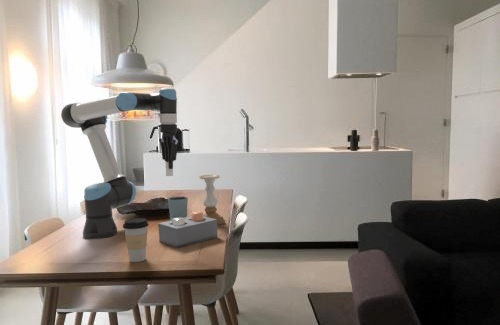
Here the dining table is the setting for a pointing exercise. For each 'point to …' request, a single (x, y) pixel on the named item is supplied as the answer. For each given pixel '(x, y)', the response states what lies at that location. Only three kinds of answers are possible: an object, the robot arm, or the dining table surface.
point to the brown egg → (196, 216)
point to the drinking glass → (177, 207)
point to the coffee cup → (136, 238)
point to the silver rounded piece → (178, 221)
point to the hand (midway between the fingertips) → (169, 175)
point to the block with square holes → (187, 232)
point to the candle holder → (211, 199)
